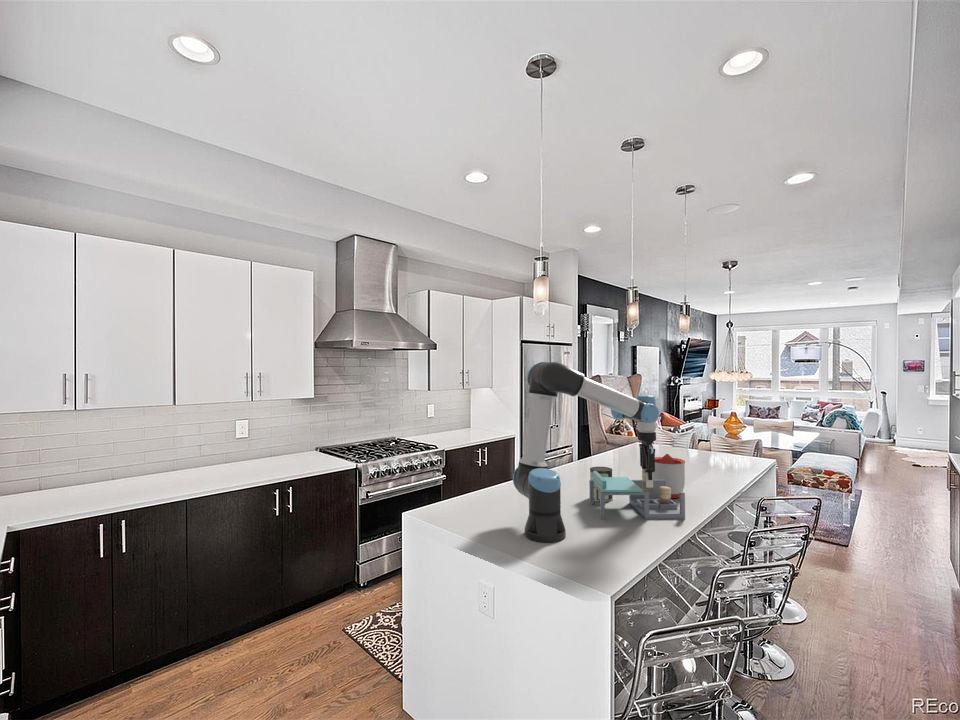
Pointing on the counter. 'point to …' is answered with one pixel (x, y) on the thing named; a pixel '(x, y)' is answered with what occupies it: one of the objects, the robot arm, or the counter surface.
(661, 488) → the tan wooden cylinder
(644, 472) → the tan rounded cylinder
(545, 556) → the counter surface
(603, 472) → the coffee can
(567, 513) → the counter surface
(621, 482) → the lid
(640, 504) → the frame
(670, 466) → the citrus juicer
